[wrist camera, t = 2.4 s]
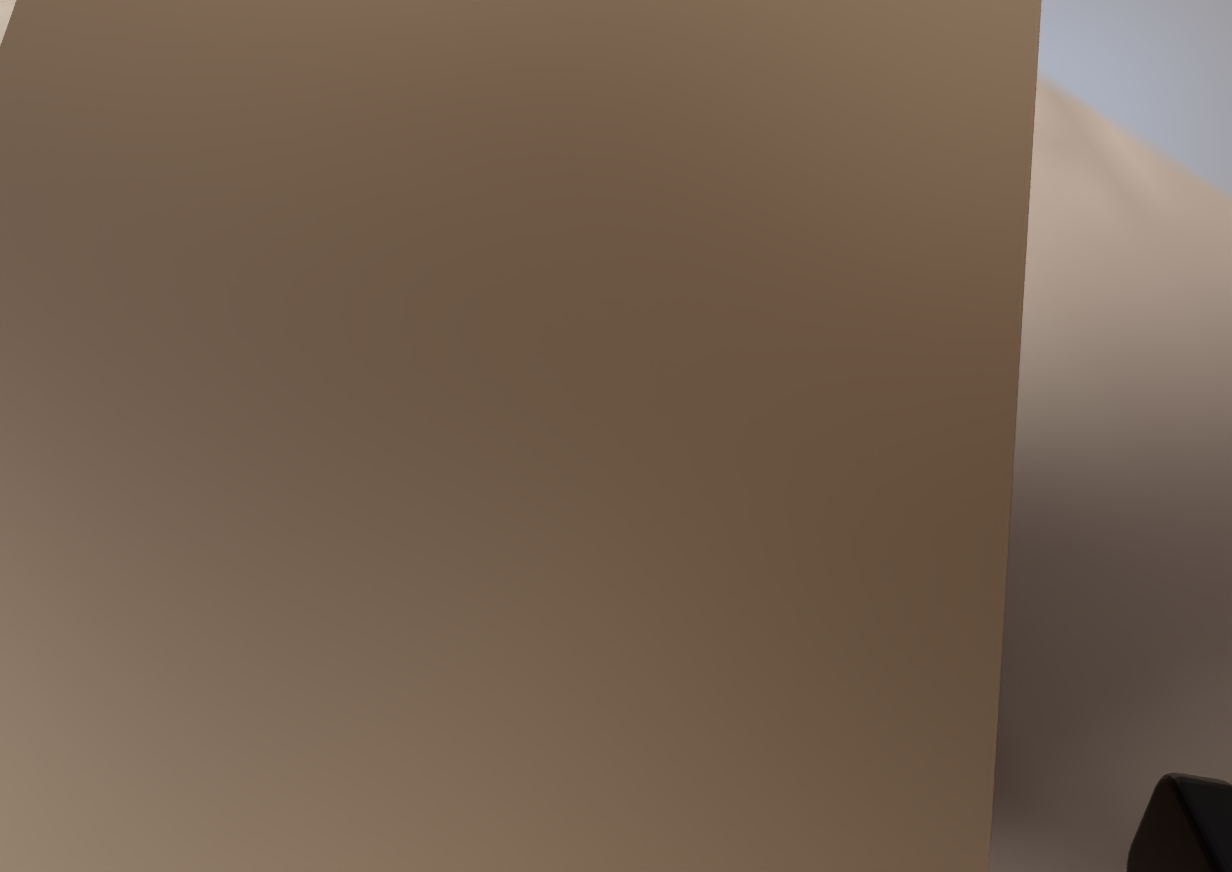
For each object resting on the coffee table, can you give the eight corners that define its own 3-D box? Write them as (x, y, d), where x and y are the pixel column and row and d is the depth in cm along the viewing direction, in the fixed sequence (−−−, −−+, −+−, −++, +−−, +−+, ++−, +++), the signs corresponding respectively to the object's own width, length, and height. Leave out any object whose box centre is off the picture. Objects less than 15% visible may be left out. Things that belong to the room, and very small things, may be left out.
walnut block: (792, 827, 16) (971, 1191, 3) (478, 773, 17) (-302, 905, 4) (825, 510, 17) (1044, -68, 5) (533, 472, 18) (55, -106, 5)
